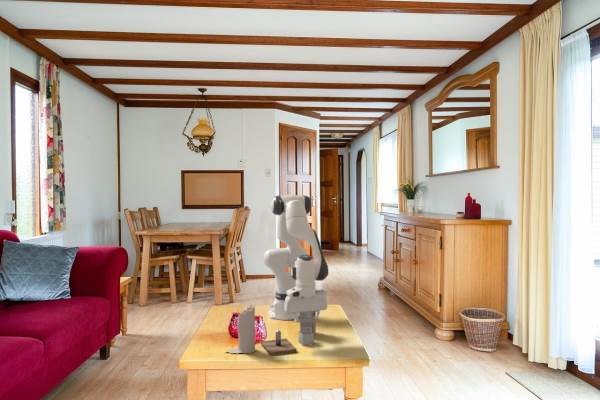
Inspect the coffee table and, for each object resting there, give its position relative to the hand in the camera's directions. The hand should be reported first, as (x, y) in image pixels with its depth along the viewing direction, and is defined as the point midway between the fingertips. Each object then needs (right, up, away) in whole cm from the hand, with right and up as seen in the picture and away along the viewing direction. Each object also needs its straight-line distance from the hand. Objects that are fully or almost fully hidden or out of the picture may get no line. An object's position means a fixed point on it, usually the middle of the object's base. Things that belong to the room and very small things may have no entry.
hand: (306, 321), depth 194 cm
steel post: (-13, -9, -6) cm, 17 cm away
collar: (0, -10, 0) cm, 10 cm away
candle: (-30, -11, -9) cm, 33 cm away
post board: (-13, -10, -6) cm, 17 cm away
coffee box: (+1, -11, +12) cm, 16 cm away
